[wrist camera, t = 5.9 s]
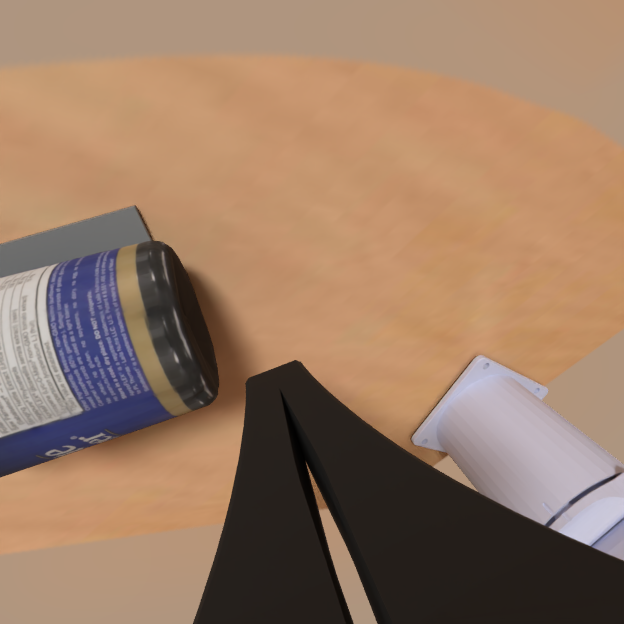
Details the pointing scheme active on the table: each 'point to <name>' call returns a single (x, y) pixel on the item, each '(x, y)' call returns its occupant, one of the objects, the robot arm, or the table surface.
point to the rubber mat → (73, 241)
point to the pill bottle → (98, 352)
